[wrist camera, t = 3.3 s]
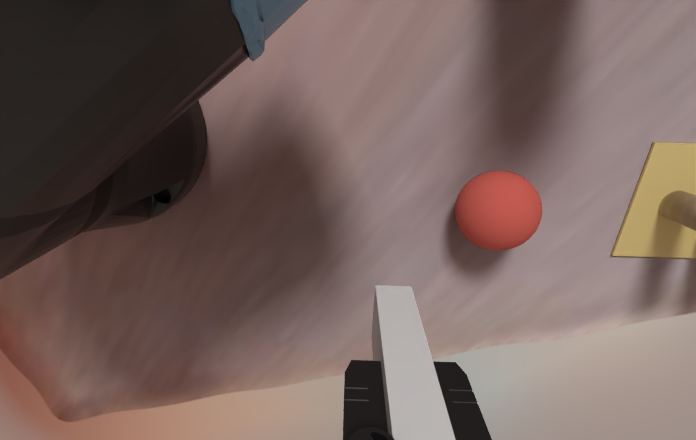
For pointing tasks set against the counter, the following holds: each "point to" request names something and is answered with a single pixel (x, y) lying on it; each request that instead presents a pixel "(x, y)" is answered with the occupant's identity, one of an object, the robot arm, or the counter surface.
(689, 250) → the plate
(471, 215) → the ball
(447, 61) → the counter surface
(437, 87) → the counter surface
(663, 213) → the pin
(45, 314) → the counter surface
